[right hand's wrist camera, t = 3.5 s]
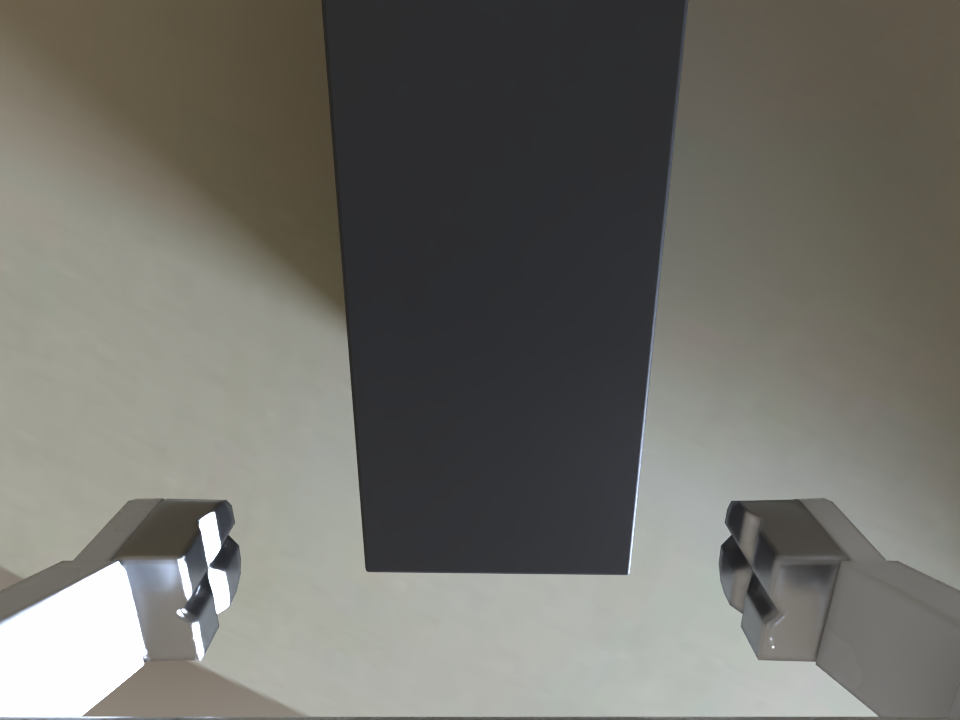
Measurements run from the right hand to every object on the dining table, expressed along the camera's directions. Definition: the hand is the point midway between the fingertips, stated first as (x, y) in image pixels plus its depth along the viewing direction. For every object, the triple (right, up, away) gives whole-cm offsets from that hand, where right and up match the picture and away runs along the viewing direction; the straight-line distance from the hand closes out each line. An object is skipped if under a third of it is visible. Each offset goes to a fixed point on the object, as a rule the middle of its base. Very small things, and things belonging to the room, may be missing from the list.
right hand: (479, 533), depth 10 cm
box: (+1, +12, +12) cm, 17 cm away
